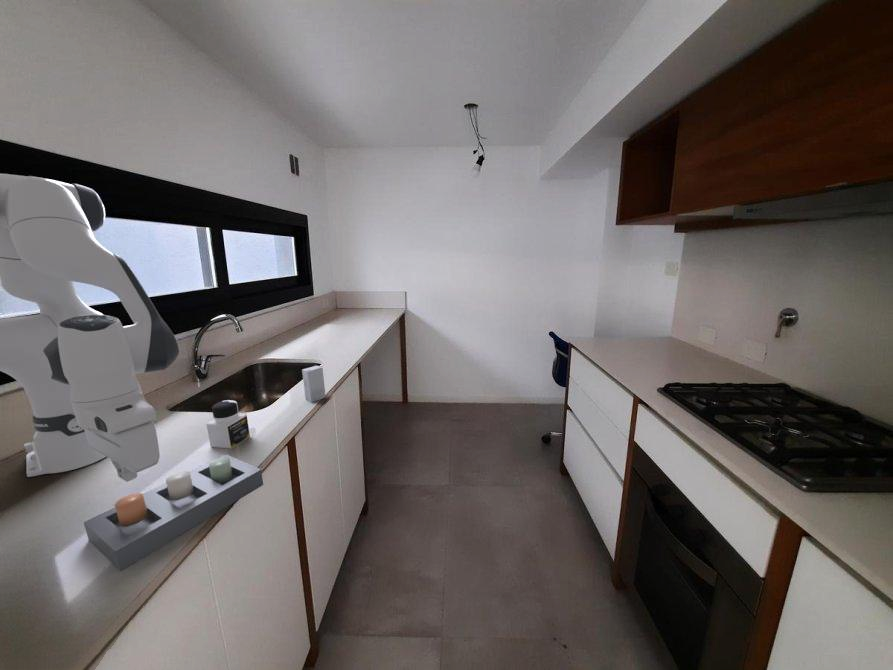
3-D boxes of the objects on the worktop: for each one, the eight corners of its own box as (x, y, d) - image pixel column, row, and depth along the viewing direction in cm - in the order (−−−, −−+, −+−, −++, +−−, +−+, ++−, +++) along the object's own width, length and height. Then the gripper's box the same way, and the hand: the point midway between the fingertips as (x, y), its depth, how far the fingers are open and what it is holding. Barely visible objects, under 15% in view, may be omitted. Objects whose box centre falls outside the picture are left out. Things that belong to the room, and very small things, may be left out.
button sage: (208, 481, 80) (205, 465, 79) (226, 471, 83) (223, 456, 82) (218, 486, 78) (215, 470, 77) (236, 476, 81) (233, 461, 80)
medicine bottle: (231, 449, 97) (224, 409, 95) (209, 447, 99) (202, 407, 96) (250, 436, 104) (244, 398, 102) (229, 434, 106) (223, 397, 103)
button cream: (165, 496, 73) (162, 479, 72) (187, 485, 76) (184, 469, 75) (175, 502, 71) (171, 485, 70) (197, 491, 74) (194, 474, 73)
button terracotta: (115, 521, 66) (111, 503, 65) (142, 508, 69) (137, 490, 68) (125, 529, 64) (120, 510, 63) (151, 515, 67) (147, 497, 66)
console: (88, 540, 66) (83, 522, 66) (228, 468, 88) (226, 454, 88) (120, 571, 60) (115, 551, 59) (263, 484, 82) (261, 469, 81)
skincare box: (319, 395, 135) (316, 364, 132) (326, 397, 132) (323, 366, 129) (304, 400, 130) (301, 369, 127) (311, 403, 127) (307, 371, 125)
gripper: (64, 404, 64) (83, 471, 67) (112, 427, 55) (131, 505, 58) (109, 392, 70) (124, 455, 73) (160, 411, 60) (175, 483, 63)
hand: (128, 477), depth 65 cm, fingers closed
